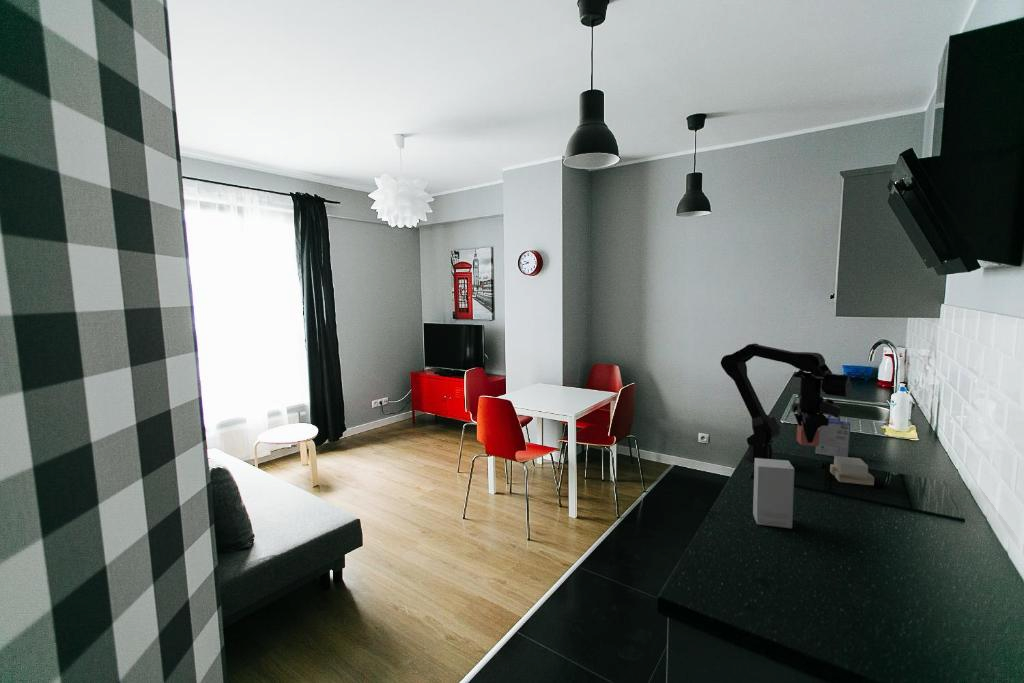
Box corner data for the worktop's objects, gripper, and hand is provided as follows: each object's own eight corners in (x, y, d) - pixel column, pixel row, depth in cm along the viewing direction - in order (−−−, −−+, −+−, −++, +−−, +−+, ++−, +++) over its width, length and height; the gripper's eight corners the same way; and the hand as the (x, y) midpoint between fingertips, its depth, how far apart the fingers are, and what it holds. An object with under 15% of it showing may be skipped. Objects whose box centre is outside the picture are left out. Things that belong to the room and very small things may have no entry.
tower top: (867, 475, 144) (868, 466, 144) (840, 472, 146) (841, 463, 146) (859, 467, 150) (860, 458, 150) (833, 464, 153) (834, 455, 153)
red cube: (818, 446, 148) (819, 430, 148) (800, 444, 150) (801, 429, 149) (814, 441, 153) (815, 426, 152) (796, 440, 154) (797, 425, 154)
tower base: (873, 487, 143) (874, 477, 142) (839, 483, 145) (839, 473, 145) (862, 476, 151) (863, 467, 151) (829, 472, 154) (830, 464, 154)
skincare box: (787, 518, 122) (790, 460, 120) (793, 530, 116) (796, 469, 114) (751, 513, 124) (754, 456, 123) (755, 525, 118) (758, 465, 117)
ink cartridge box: (848, 454, 170) (851, 415, 168) (848, 459, 165) (851, 419, 164) (815, 449, 175) (818, 411, 174) (815, 454, 171) (817, 415, 169)
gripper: (850, 400, 138) (847, 451, 140) (830, 388, 156) (827, 434, 157) (807, 397, 142) (804, 447, 143) (792, 386, 159) (789, 431, 161)
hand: (807, 439), depth 151 cm, fingers closed on red cube, 5 cm apart
